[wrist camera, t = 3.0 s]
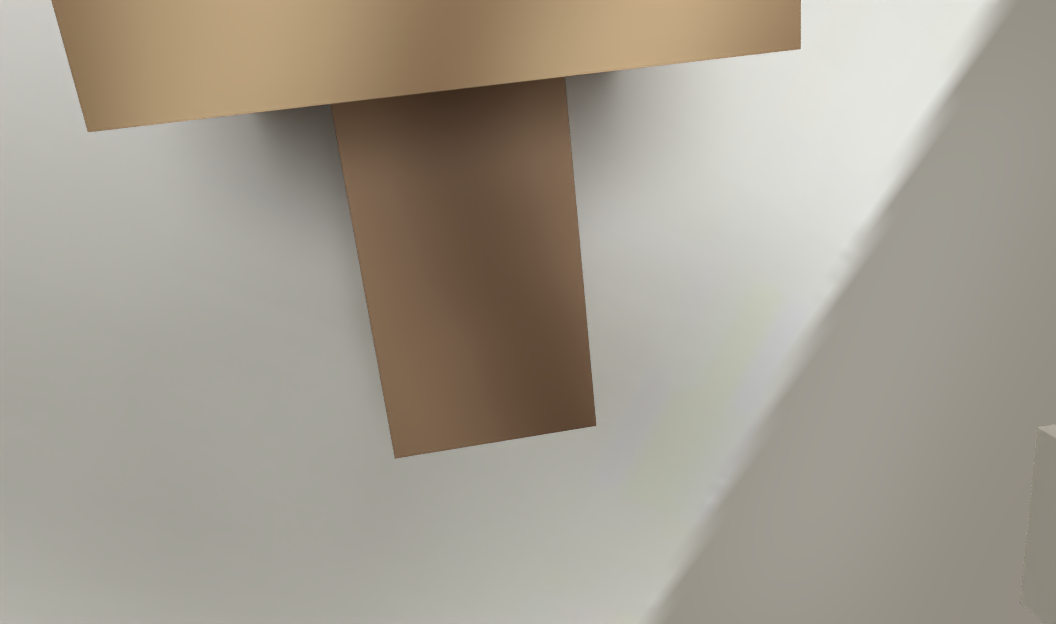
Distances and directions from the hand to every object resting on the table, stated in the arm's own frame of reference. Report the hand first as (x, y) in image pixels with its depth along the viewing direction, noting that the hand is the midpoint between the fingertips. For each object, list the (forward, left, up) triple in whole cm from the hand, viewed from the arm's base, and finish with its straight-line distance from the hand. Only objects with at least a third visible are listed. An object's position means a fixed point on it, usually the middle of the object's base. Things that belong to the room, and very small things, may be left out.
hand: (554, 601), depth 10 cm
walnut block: (0, +5, -17) cm, 18 cm away
